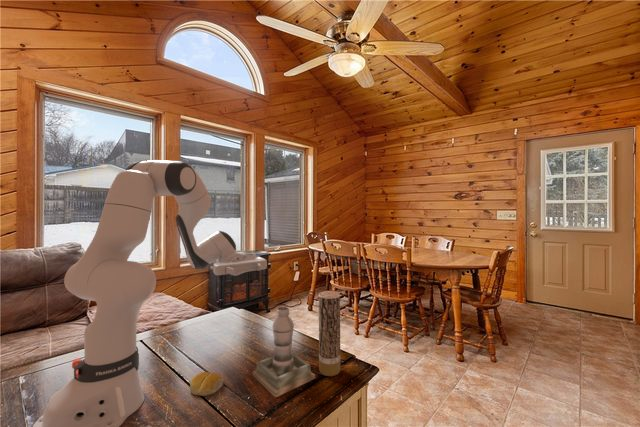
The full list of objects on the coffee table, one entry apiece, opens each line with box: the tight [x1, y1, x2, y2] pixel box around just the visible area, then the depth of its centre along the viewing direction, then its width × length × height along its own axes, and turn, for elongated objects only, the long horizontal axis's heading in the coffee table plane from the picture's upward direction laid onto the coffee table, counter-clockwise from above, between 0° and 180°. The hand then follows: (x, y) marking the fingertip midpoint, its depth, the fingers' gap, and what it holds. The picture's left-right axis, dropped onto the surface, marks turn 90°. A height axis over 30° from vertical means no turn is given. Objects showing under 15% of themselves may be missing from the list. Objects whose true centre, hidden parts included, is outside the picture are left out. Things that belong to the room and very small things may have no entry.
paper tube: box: [318, 290, 341, 377], centre depth 92 cm, size 7×7×25 cm
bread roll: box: [189, 371, 224, 397], centre depth 85 cm, size 8×9×4 cm
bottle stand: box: [251, 352, 316, 398], centre depth 90 cm, size 14×14×4 cm
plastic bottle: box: [272, 306, 295, 376], centre depth 90 cm, size 6×7×20 cm
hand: (247, 269), depth 106 cm, fingers open, 8 cm apart
